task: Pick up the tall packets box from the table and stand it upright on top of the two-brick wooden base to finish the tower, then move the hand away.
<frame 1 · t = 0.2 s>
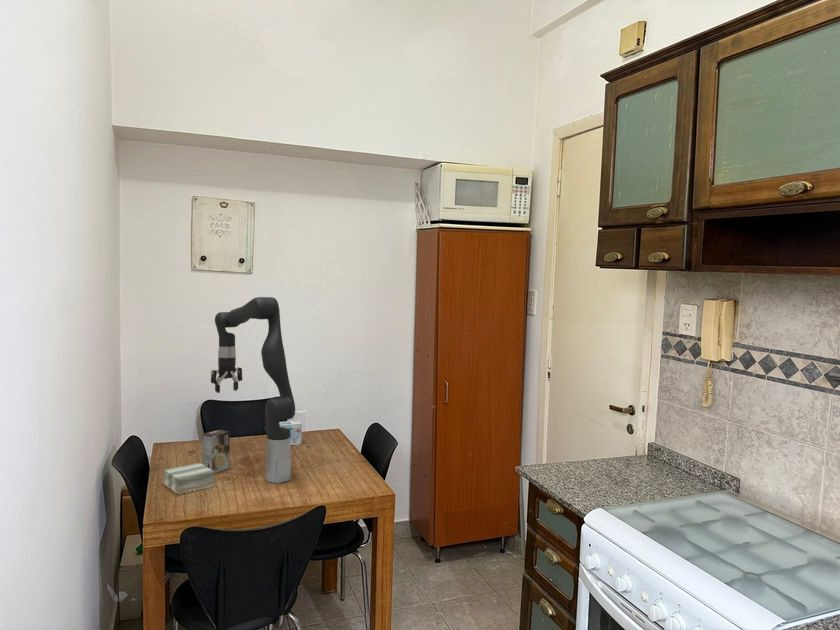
hand: (226, 391, 266), 29 cm above the table, tool pointing down, fingers open, 8 cm apart
coffee box: (215, 470, 245), on the table
light bulb box: (289, 444, 286), on the table
tower base: (189, 485, 226), on the table
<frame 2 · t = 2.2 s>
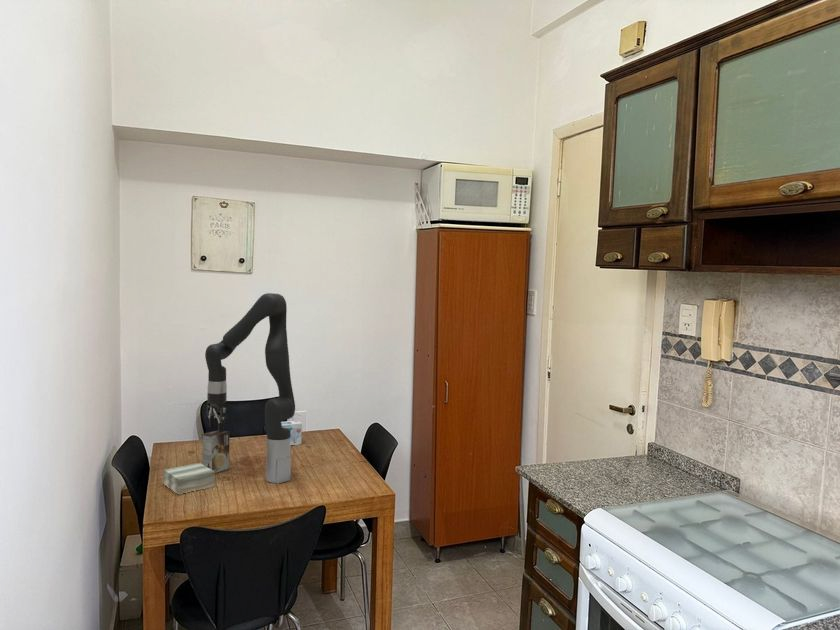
hand: (216, 429, 244), 17 cm above the table, tool pointing down, fingers open, 8 cm apart
nothing on the table moved.
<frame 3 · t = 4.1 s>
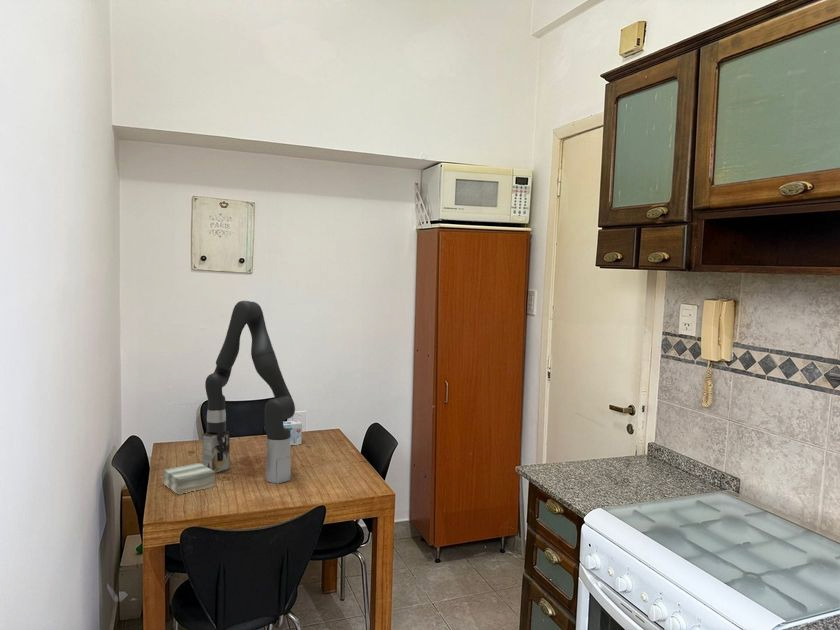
hand: (216, 458, 245), 5 cm above the table, tool pointing down, fingers closed on coffee box, 7 cm apart
coffee box: (216, 470, 245), on the table, touching gripper
everything else where it was.
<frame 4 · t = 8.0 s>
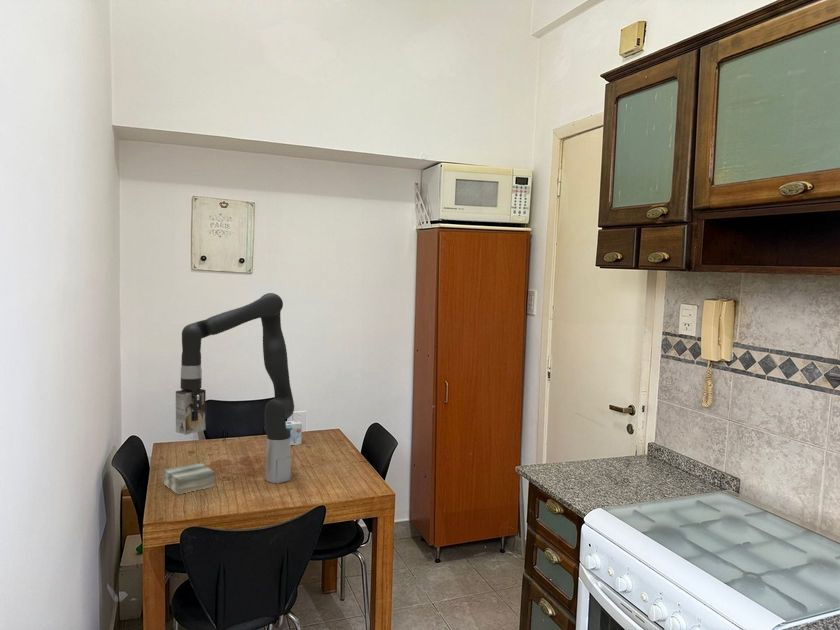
hand: (190, 418, 226), 26 cm above the table, tool pointing down, fingers closed on coffee box, 7 cm apart
coffee box: (190, 431, 226), point 21 cm above the table, touching gripper
everything else where it was.
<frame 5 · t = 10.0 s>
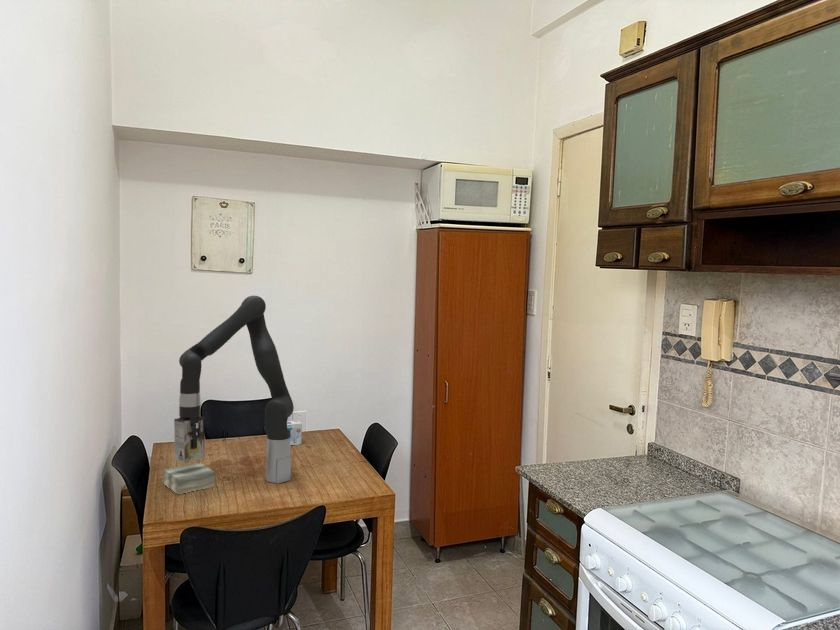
hand: (189, 446, 226), 16 cm above the table, tool pointing down, fingers closed on coffee box, 7 cm apart
coffee box: (189, 459, 226), point 10 cm above the table, touching gripper
everything else where it was.
when the fingers open (12 cm above the table, at t = 11.8 s): coffee box drops 1 cm, resting on tower base.
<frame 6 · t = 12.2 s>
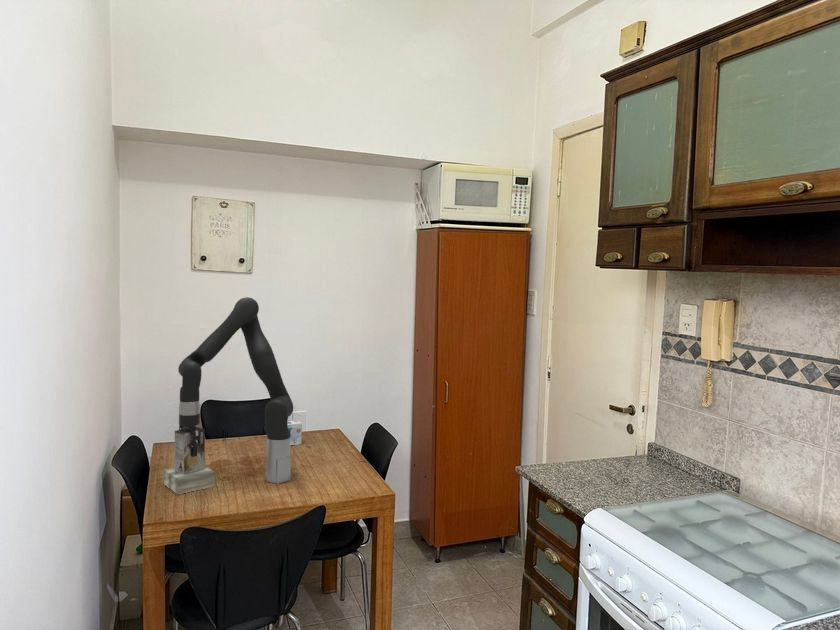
hand: (189, 453, 225), 13 cm above the table, tool pointing down, fingers open, 8 cm apart
coffee box: (189, 471, 226), point 6 cm above the table, touching tower base
everything else where it was.
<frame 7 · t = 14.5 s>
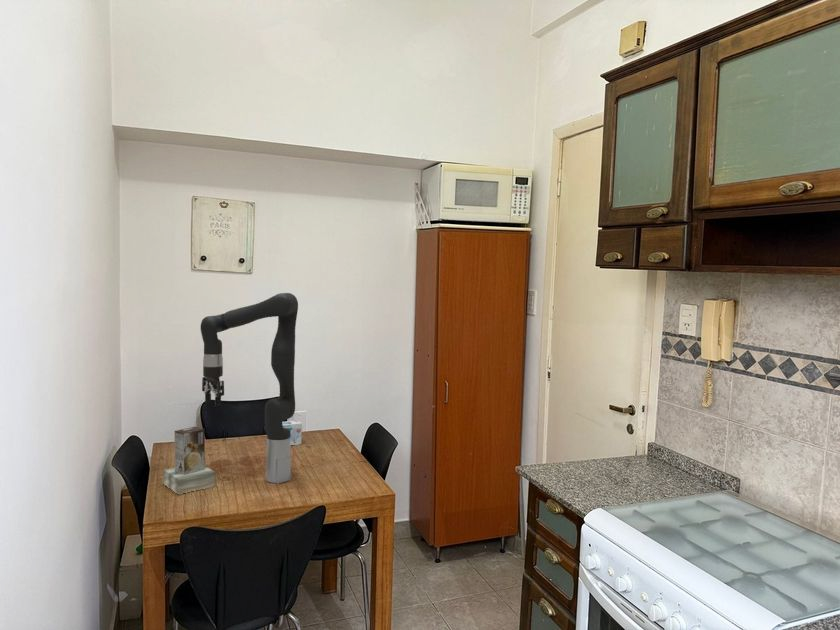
hand: (212, 404, 239), 29 cm above the table, tool pointing down, fingers open, 8 cm apart
nothing on the table moved.
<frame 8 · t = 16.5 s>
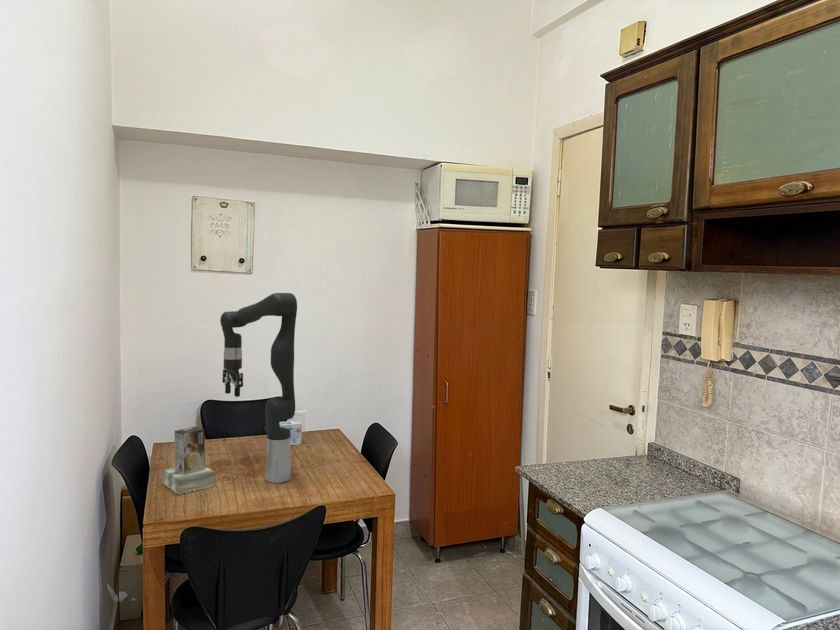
hand: (232, 394, 253), 30 cm above the table, tool pointing down, fingers open, 8 cm apart
nothing on the table moved.
at the end: coffee box inside the target area on the tower base (0.2 cm from its centre), point 5.8 cm above the tower base's base; coffee box tilted 0°; the gripper is holding nothing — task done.
